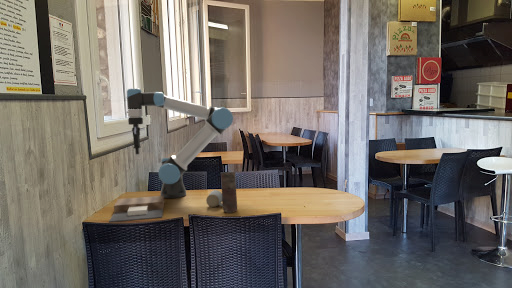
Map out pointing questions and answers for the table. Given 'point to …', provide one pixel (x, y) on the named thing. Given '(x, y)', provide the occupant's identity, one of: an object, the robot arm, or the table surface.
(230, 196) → the brown rectangular block
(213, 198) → the ceramic mug
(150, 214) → the mat
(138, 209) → the tile
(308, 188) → the table surface
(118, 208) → the riser
